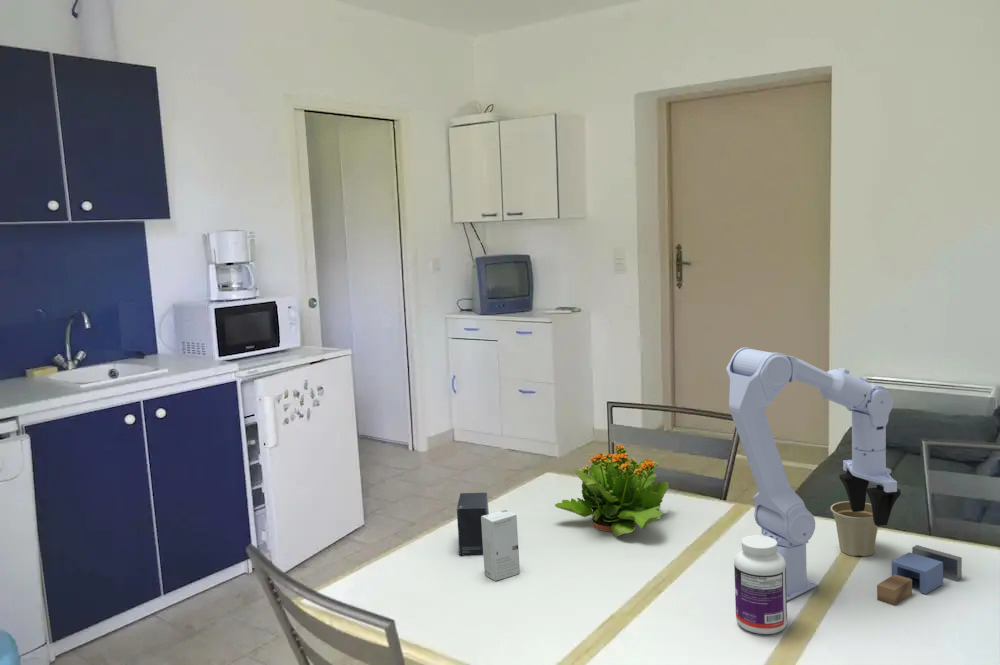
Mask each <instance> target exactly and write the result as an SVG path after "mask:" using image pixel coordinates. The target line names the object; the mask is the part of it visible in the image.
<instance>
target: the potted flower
mask: <svg viewBox="0 0 1000 665" xmlns="http://www.w3.org/2000/svg"><path fill="white" fill-rule="evenodd" d="M627 451H628V450H627V448H625V446H624V445H623V444H620V445H619V444H616V445H615V451H614V452H615V453H613V454H612V453H605V454H604V453H603V452H602V453H601V452H598V453H596V454H595V455H594V456H592V457H590V459H589V460H588V463H591V466H589V465H588V464H586V466H585V467H584V466H583V467H582V468H579V469H577V468H576V469H574V472H575V474H576V475H577V477H578V478H579V479H580V480H581V489H582V490H581V494H582V496H581V497H582V498H579V497H576V499H577V500H576V499H574V498H571V499H570V500H569V499H562V500H561V502H557V503H555V504H554V507H556V508H557V509H561V510H565V511H567V512H570V513H574V514H576V515H579V516H580V517H583V518H584V517H585V518H586V517H588V516H591V515H593V516H592V517H591V523H592V525H593V526H594V528H595V529H597V530H601V531H605V532H608V533H609V532H610V533H612V534H613V536H614V537H617V538H619V537H620V536H621V535H622V536H623V535H625V534H626V535H627V534H631V533H633V532H634V531H635V530H636V526H635V525H637V526H638V527H639V528H640V529H641V530H644V529H645V527H647V526H648V525H649V524H650V523H652V522H654V521H657V520H658V519H660V518H662V516H663V511H661V510H660V509H661V503H663V498H664V497H665V495H666V493H667V490H669V482H667V481H659V482H657V483H655V481H656V478H657V477H658V476H657V474H656V471H657V469H656V467H658V466H659V465H660V464H661V462H659V461H657V460H652V459H651V460H650V459H649V458H645V459H643V460H641V461H640V462H639V463H638V461H636V458H634V457H633V456H631V457H630V459H629V454H628V453H626V452H627ZM652 483H653V484H652Z"/></svg>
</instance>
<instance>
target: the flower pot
mask: <svg viewBox="0 0 1000 665" xmlns="http://www.w3.org/2000/svg"><path fill="white" fill-rule="evenodd" d="M829 509H830V511H831V513H832V514H833V518H834V521H835V526H836V531H837V532H836V533H837V538H838V545H839V549H840V551H841V552H842V553H844V554H846V555H849V556H852V557H857V556H860V557H863V558H864V557H869V556H872V555H873V554H874V553H875V547H876V541H877V535H878V527H879V526H876V525H875V524H874V520H873V512H872V505H871V503H868V502H865V508H864V511H860V512H853V511H852V509H851V506H850V502H849V500H848V501H847V500H846V501H838V502H835V503H833V504H832V505H831V506H830V508H829Z"/></svg>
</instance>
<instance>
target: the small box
mask: <svg viewBox="0 0 1000 665" xmlns="http://www.w3.org/2000/svg"><path fill="white" fill-rule="evenodd" d="M488 499H489V498H488V492H460V493H459V498H458V502H457V506H456V517H457V518H456V520H457V531H458V532H457V534H458V535H457V536H458V553H459V554H460V555H459V554H458V555H459V556H462V555H461V554H477V555H483V542H482V524H481V516H484V515H488V514H490V512H489V500H488Z"/></svg>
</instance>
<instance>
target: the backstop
mask: <svg viewBox="0 0 1000 665" xmlns="http://www.w3.org/2000/svg"><path fill="white" fill-rule="evenodd" d="M911 550H912V551H911V553H913V554H917V555H920V556H924V557H927V558H931V559H934V560H938V561H941V562H943V579H948V580H951V581H955V582H959V581H961V580H962V577H963V576H962V571H963V570H962V569H963V567H962V566H963V563H962V562H963V561H962V559H963V558H962V557H960V556H958V555H954V554H950V553H947V552H944V551H943V552H942V551H940V550H936V549H932V548H929V547H926V546H922V545H919V544H916V545H913V547H912V548H911Z"/></svg>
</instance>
